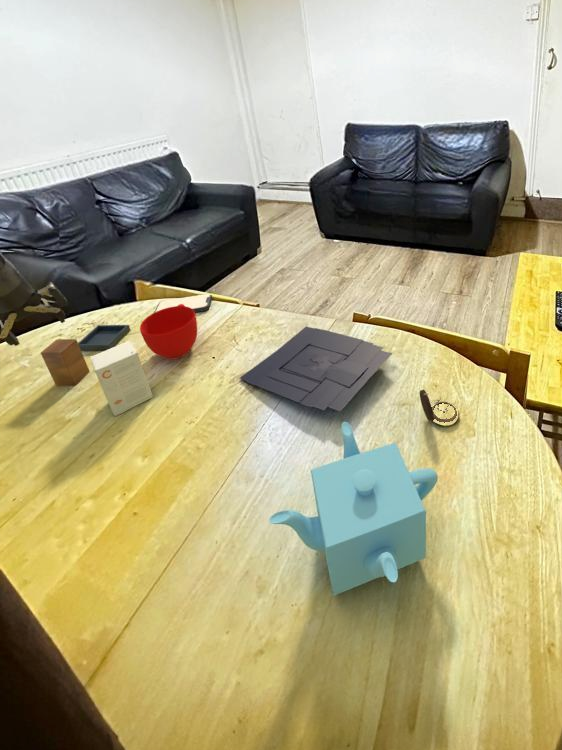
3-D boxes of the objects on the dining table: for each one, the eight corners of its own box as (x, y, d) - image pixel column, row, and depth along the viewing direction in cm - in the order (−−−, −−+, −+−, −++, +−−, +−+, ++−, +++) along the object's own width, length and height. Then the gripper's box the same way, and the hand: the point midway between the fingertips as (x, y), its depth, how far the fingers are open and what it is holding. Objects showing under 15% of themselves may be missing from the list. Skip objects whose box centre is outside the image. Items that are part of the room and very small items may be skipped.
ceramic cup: (212, 325, 120) (204, 296, 116) (195, 364, 105) (186, 332, 101) (165, 330, 119) (156, 300, 115) (142, 370, 103) (130, 338, 99)
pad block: (55, 385, 100) (40, 352, 95) (70, 371, 104) (56, 339, 100) (75, 385, 99) (60, 352, 95) (89, 371, 104) (76, 339, 100)
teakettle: (443, 513, 68) (445, 450, 62) (397, 647, 53) (394, 580, 47) (345, 470, 76) (339, 411, 70) (280, 576, 61) (265, 512, 55)
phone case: (153, 320, 124) (208, 311, 127) (151, 316, 123) (207, 306, 126) (161, 304, 132) (213, 296, 135) (159, 300, 131) (212, 292, 134)
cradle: (77, 351, 111) (75, 345, 111) (100, 330, 120) (98, 325, 119) (110, 350, 111) (108, 345, 110) (130, 330, 119) (128, 324, 119)
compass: (464, 423, 85) (465, 396, 82) (427, 432, 83) (427, 405, 80) (448, 395, 92) (449, 369, 89) (415, 403, 90) (414, 377, 87)
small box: (145, 383, 99) (130, 339, 94) (153, 397, 95) (138, 352, 89) (107, 402, 94) (88, 356, 89) (114, 417, 90) (94, 370, 84)
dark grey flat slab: (337, 428, 83) (333, 414, 82) (241, 388, 99) (237, 375, 98) (397, 358, 102) (395, 346, 101) (308, 334, 118) (306, 323, 117)
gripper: (34, 254, 84) (71, 303, 95) (-56, 290, 76) (-5, 338, 87) (46, 275, 80) (82, 323, 91) (-47, 316, 72) (5, 362, 84)
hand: (40, 331), depth 89 cm, fingers open, 8 cm apart
